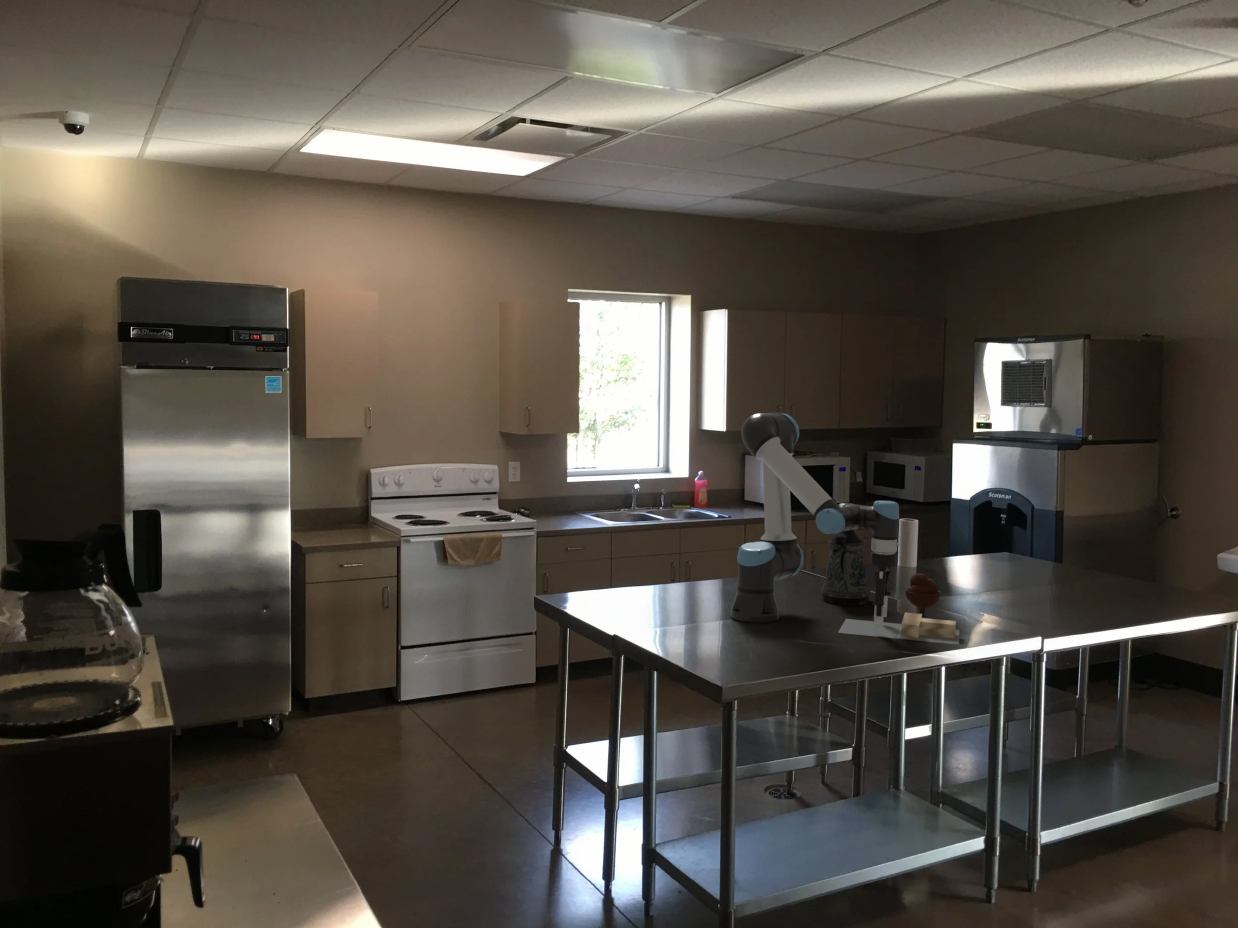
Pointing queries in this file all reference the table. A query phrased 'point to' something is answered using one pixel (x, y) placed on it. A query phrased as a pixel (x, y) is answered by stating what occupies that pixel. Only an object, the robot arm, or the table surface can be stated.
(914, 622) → the t block
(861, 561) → the beer stein
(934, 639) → the push board
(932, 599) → the ice cream bowl
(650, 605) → the table surface
